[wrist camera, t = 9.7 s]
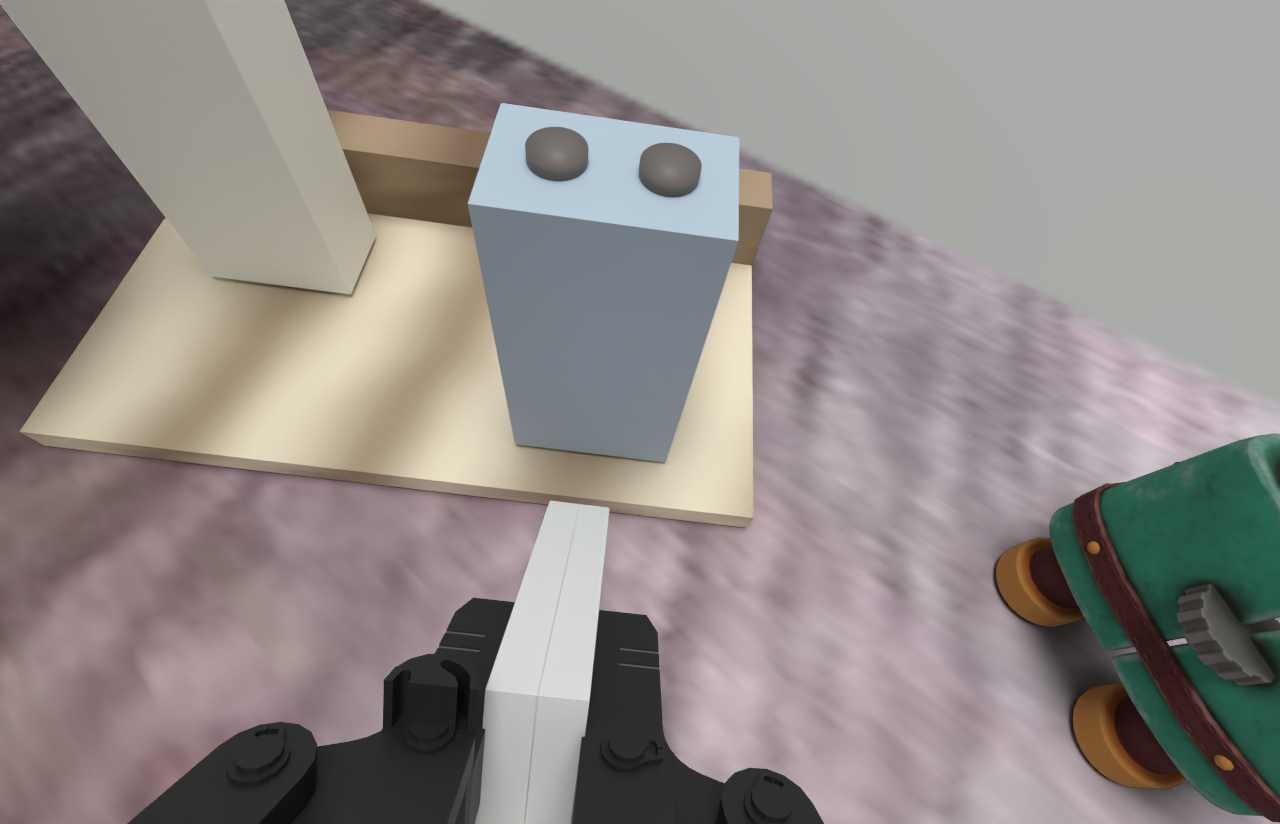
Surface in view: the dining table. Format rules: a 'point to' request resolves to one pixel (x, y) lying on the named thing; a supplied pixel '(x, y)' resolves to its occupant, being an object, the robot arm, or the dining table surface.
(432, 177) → the holder
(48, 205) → the dining table surface
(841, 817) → the dining table surface
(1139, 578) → the binoculars
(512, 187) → the tile two
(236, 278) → the tile one
